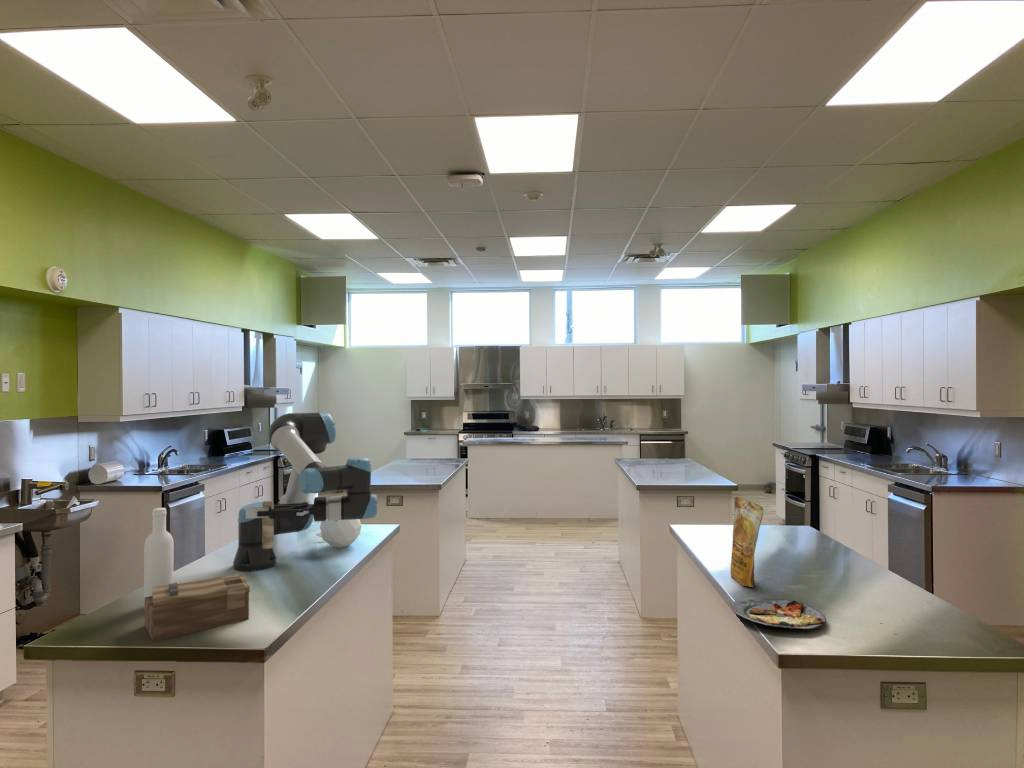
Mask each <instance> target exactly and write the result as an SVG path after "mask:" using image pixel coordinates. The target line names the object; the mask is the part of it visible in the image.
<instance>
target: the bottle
mask: <svg viewBox="0 0 1024 768" xmlns="http://www.w3.org/2000/svg"><path fill="white" fill-rule="evenodd" d="M167 512H168V511H167V508H166V507H156V508H153V509H152V512H151V516H152V527H151V529H152V532H151V533H150V534H148V535H147V536H146V539H145V541H144V546H143V547H144V548H143V549H144V556H143V557H144V558H143V559H144V564H143V565H144V566H143V568H144V569H143V570H144V571H143V572H144V573H143V578H144V579H143V585H144V586H143V589H144V590H143V609H144V610H145V597H149V596H153V587H159V586H166V585H169V584H171V583H174V559H175V557H174V554H175V553H174V552H175V550H174V545H175V544H174V538H173V536H172V534H171V533H170V532H169V531H168V530H167V514H168V513H167Z"/></svg>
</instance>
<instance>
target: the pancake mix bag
mask: <svg viewBox="0 0 1024 768" xmlns="http://www.w3.org/2000/svg"><path fill="white" fill-rule="evenodd" d="M763 515H764V508H763V507H762V505H760V504H758V503H756V502H752V501H751V500H748V499H746V498H743V497H739V496H734V497H733V523H732V525H733V527H732V547H731V558H730V577H731V578H734V579H733V580H734V581H735V582H737V581H738V582H739V583H740V584H739V583H738V582H737V583H738V584H739V585H740V586H742V585H743V586H742V587H744V586H749V587H752V586H754V584H755V553H756V548H757V542H758V538H759V534H760V533H759V531H760V528H761V524H762V520H763V517H764V516H763ZM749 587H748V588H749Z"/></svg>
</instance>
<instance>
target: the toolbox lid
mask: <svg viewBox="0 0 1024 768" xmlns="http://www.w3.org/2000/svg"><path fill="white" fill-rule="evenodd" d="M250 589H251V588H250V585H249V582H248V580H247V579H246V577H245V575H244V574H243V573H241V574H240V573H239V574H233V575H226V576H220V577H214V578H207V579H200V580H194V581H193V580H192V581H187V582H181V583H178V582H173V583H171V584H169V585H166V586H159V587H153V608H155V607H161V606H167V605H173V604H179V603H185V602H191V601H197V600H203V599H209V598H215V597H221V596H227V595H233V594H239V593H245V592H249V593H250Z"/></svg>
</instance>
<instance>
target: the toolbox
mask: <svg viewBox="0 0 1024 768" xmlns="http://www.w3.org/2000/svg"><path fill="white" fill-rule="evenodd" d="M249 599H250V592H245V593H239V594H233V595H227V596H221V597H215V598H209V599H203V600H197V601H191V602H185V603H179V604H173V605H167V606H161V607H155V608H153V596H149V597H145V609H144V618H143V619H144V622H143V623H144V628H145V629H146V631H147V633H148V635H149V637H150V639H151V640H152V642H158V641H159V642H160V641H162V640H166V639H171V638H175V637H180V636H183V635H187V634H191V633H196V632H201V631H204V630H208V629H212V628H217V627H221V626H225V625H230V624H234V623H239V622H242V621H246V620H249V618H250V617H249V616H250V614H249V613H250V608H249V606H250V601H249Z"/></svg>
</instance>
